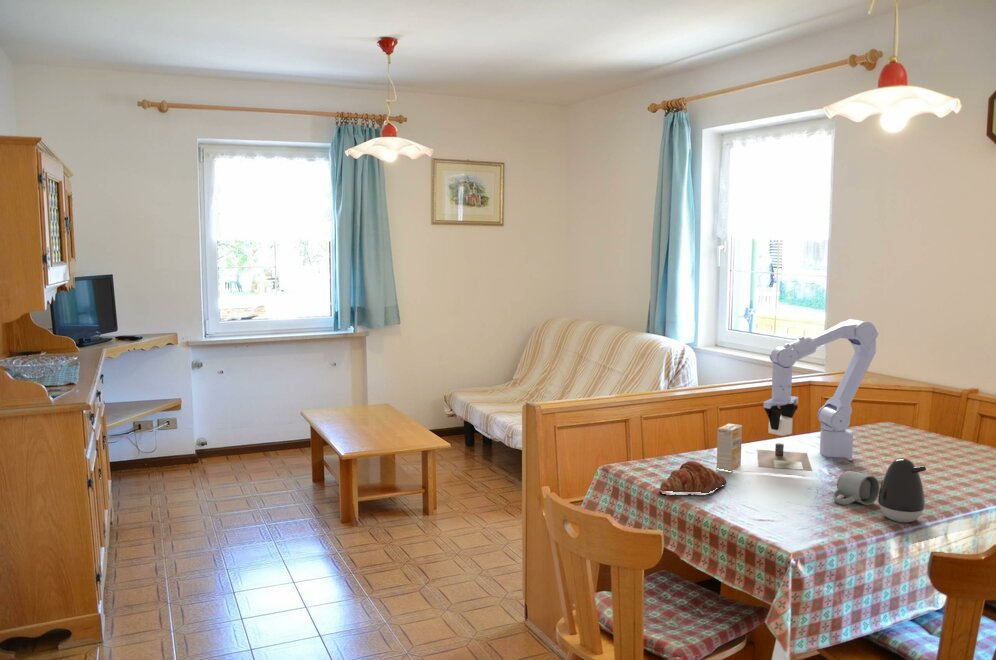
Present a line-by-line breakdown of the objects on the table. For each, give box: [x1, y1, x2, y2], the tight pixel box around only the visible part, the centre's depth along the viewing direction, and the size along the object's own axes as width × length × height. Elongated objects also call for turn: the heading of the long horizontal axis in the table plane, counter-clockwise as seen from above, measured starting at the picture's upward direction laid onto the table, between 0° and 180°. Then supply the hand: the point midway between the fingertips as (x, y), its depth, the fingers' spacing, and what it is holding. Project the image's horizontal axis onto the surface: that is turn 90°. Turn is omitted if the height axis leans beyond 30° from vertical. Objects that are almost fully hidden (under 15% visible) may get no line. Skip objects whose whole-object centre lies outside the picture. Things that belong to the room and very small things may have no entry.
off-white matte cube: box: [767, 415, 793, 437], centre depth 244 cm, size 5×5×5 cm
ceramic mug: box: [833, 470, 881, 506], centre depth 204 cm, size 11×8×8 cm
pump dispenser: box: [877, 457, 927, 523], centre depth 190 cm, size 10×10×15 cm
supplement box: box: [716, 423, 743, 471], centre depth 233 cm, size 8×5×13 cm, turn 143°
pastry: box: [659, 460, 727, 493], centre depth 214 cm, size 17×15×8 cm
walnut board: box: [756, 442, 813, 472], centre depth 240 cm, size 15×20×4 cm
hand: (780, 428), depth 244 cm, fingers closed on off-white matte cube, 5 cm apart
